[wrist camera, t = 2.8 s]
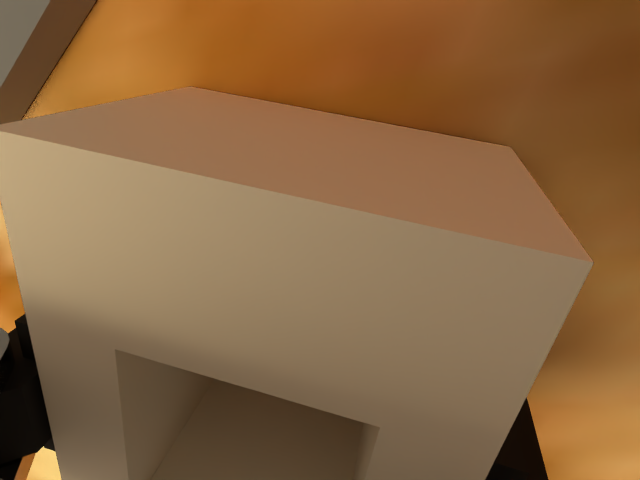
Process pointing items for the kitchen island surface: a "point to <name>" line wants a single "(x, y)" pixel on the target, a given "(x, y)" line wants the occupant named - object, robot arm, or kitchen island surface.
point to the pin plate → (33, 47)
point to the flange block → (278, 290)
